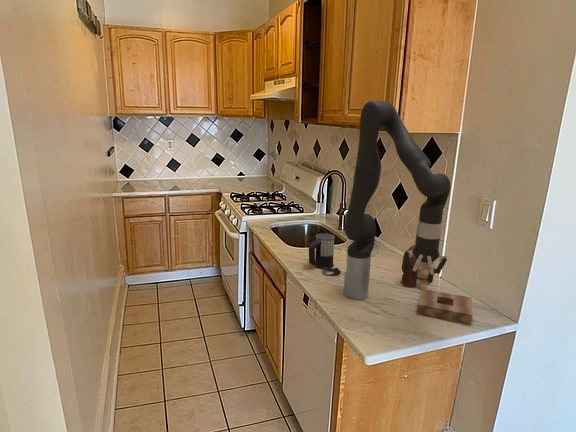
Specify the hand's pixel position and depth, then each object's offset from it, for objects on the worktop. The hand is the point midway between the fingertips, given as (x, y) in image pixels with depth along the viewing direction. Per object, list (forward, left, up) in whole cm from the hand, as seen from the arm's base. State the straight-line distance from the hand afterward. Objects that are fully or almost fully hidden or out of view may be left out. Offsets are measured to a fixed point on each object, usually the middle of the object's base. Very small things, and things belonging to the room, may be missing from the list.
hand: (422, 281), depth 132 cm
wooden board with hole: (+8, +13, -16) cm, 22 cm away
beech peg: (0, 0, -2) cm, 2 cm away
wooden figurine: (-5, +32, -16) cm, 36 cm away
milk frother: (-44, +32, -16) cm, 56 cm away
